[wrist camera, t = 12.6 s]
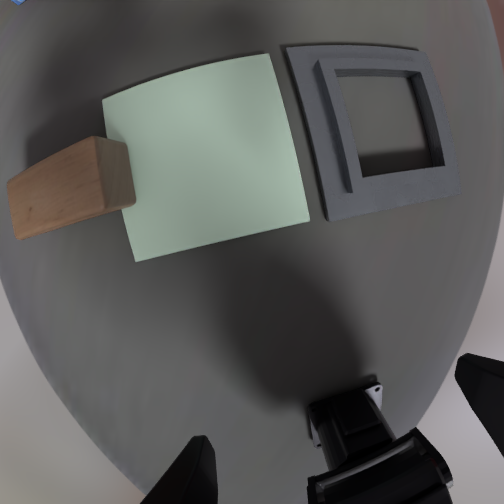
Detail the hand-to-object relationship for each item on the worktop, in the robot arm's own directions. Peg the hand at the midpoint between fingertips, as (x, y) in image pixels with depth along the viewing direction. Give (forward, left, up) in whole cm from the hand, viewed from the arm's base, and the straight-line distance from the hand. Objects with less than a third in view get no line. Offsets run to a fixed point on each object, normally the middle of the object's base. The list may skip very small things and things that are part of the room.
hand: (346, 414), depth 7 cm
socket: (+10, -9, -11) cm, 17 cm away
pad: (+10, +4, -11) cm, 15 cm away
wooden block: (+10, +8, -8) cm, 15 cm away
